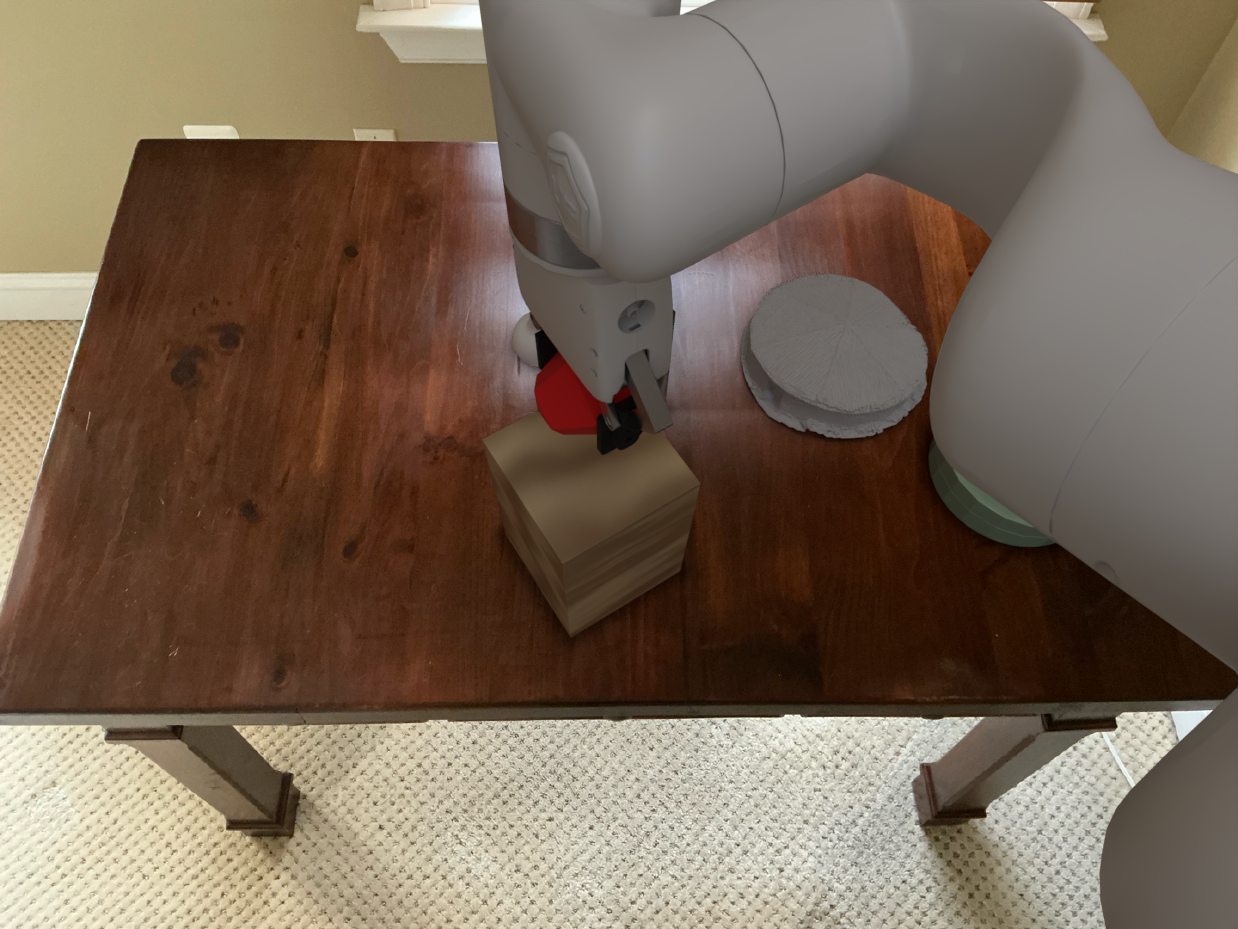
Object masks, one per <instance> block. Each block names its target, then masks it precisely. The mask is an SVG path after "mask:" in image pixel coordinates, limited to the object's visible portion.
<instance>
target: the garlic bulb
mask: <svg viewBox="0 0 1238 929" xmlns="http://www.w3.org/2000/svg"><path fill="white" fill-rule="evenodd" d="M539 331H541V329H540V330H537V329H536V328H535V327H534V325H533V323H532V321H531V319H530V311H529V312H526V313H525V314H523V315H522V316H521V317H520V318H519V319H518V320H517V322H516V323H515V325H514V326H513V329H512V334H511V335H512V336H511V337H512V338H511V342H512V347H513V349H514V350H513V351H514V352H515V354H516V355H517V356H518V358H520V360H521V361H522V362H524V363H525V364H527V365H529V366H532V367H534V368H539V366H538V358H537V349H536V341H535V333H537V332H539Z"/></svg>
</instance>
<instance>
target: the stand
mask: <svg viewBox="0 0 1238 929" xmlns="http://www.w3.org/2000/svg"><path fill="white" fill-rule="evenodd" d="M481 441H482V445H483V450H484V454H485V457H486V462H487V465H488V470H489V473H490V477H491V482H492V485H493V489H494V494H495V497H496V500H497V506H498V510H499V513H500V517H501V520H502V521H501V522H502V525H503V529H504V533H505V535H506V537H507V539H508V540H509V542H510V544H511V545H512V546H513V548H514V550H515V552H516V553H517V555H518V556H519V558H520V560H521V561H522V563H523V564H524V566H525V567H526V569H527V571H528V573H529V574H530V576H531V577H532V579H533V581H534V583H535V584H536V586H537V587H538V588H539V590H540V591H541V593H542V595H543V596H544V598H545V600H546V601H547V603H548V604H549V606H550V608H551V610H552V611H553V613H554V614H555V616H556V617H557V619H558V620H559V622H560V623H561V625H562V627H563V628H564V630H565V632H566V634H567V635H568V636H569V638H570V639H572V638H573V637H575V636H576V635H578V634H580V633H581V632H583V631H584V630H586V629H588V628H589V627H591V626H593V625H595V624H596V623H598V622H600V621H602V620H603V619H604V618H606V617H607V616H609V615H611V614H613V613H614V612H616V611H617V610H619V609H621V608H622V607H623V606H625V605H627V604H629V603H630V602H632V601H633V600H635V599H637V598H638V597H640V596H642V595H644V594H646V593H647V592H648V591H650V590H652V589H654V588H656V586H658V585H660V584H661V583H663V582H665V581H667V580H669V579H670V578H671V577H673V576H675V575H677V574H678V573H679V572H681V570H682V566H683V562H684V557H685V552H686V548H687V544H688V540H689V536H690V531H691V526H692V522H693V518H694V514H695V510H696V506H697V501H698V497H699V493H700V487H701V484H702V483H701V482H700V481H699V479H698V478H697V476H696V475H695V474H694V473H693V471H692V470H691V468H689V466H688V465H687V463H686V462H685V461H684V460H683V458H682V457H681V455H680V454H679V453H678V452H677V451H676V449H675V448H674V447H673V445H672V444H671V443H670V441H669V440H668V439H667V437H666V436H665V435H664V433H663V431H661V432H659V433H657V434H655V435H652V434H648V433H644V432H642V434H641V435H640V436H639V439H638V440H637V441H636V442H635V443H634V444H633V445H631V446H630V447H628V448H626V449H624V450H618V449H617V448H616V449H615V450H613V451H611V452H609V453H607V454H605V455H601V453H600V452H599V451H598V449H597V435H563V434H560V433H558V432H556V431H553V430H551V428H550V427H549V426H548V424H547V423H546V422H545V420H544V419H543V417H542V416H541V415H540V413H539V412H538V409H537V410H536V411H534V412H532V413H530V414H528V415H525V416H524V417H522V418H520V419H518V420H516V421H514V422H512V423H511V424H508V425H506V426H505V427H502V428H501V429H499V430H496V431H495V432H493V433H491V434H489V435H487V436H485V437H483V438H482V439H481Z"/></svg>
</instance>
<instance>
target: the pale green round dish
mask: <svg viewBox="0 0 1238 929" xmlns="http://www.w3.org/2000/svg"><path fill="white" fill-rule="evenodd" d="M928 469H929V474H930V478H931V481H932V485H933V486H934V489H935V490H936V493H937V494H938V496H939V498H940V499H941V501H942V502H943V504H944V505H945V506H946V507H947V509H948V510H949V511H950V512H951V513H952V514H953V515H954V516H955V518H957V519H958V520H959V521H960V522H961V523H963V524H964V525H965V526H966V527H968V528H969V529H972V531H974V532H976V533H977V534H979V535H981V536H983V537H985V538H987V539H990V540H992V541H995V542H998V543H1000V544H1004V545H1009V546H1013V547H1021V548H1036V547H1045V546H1051V545H1053V544H1056V543H1055V542H1054V541H1052V540H1051V539H1050V538H1048V537H1047V536H1045V535H1044V534H1043V533H1041V532H1040V531H1038V530H1037V529H1036V528H1034V527H1033V526H1031V525H1030V524H1029V523H1027V522H1026V521H1024V520H1023V519H1022V518H1020V517H1019V516H1017V515H1016V514H1015V513H1013V512H1012V511H1010V510H1009V509H1007V508H1006V507H1005V506H1003V505H1002V504H1000V503H999V502H998V501H996V500H995V499H993V498H992V497H991V496H989V495H988V494H986V493H985V492H983V491H982V490H981V489H979V488H978V487H976V486H975V485H973V484H972V483H970V482H969V481H968V480H966V479H965V478H964V477H963V476H962V475H960V474H959V473H958V472H957V471H956V470H954V469H953V468H952V467H951V466H950V465H949V463H948V462H947V461H946V459H945V458H944V456H943V454H942V453H941V451H940V450H939V448H938V446H937V444H936V442H935V439H934V436H933V435H932V439H931V441H930V445H929V449H928Z"/></svg>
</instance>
